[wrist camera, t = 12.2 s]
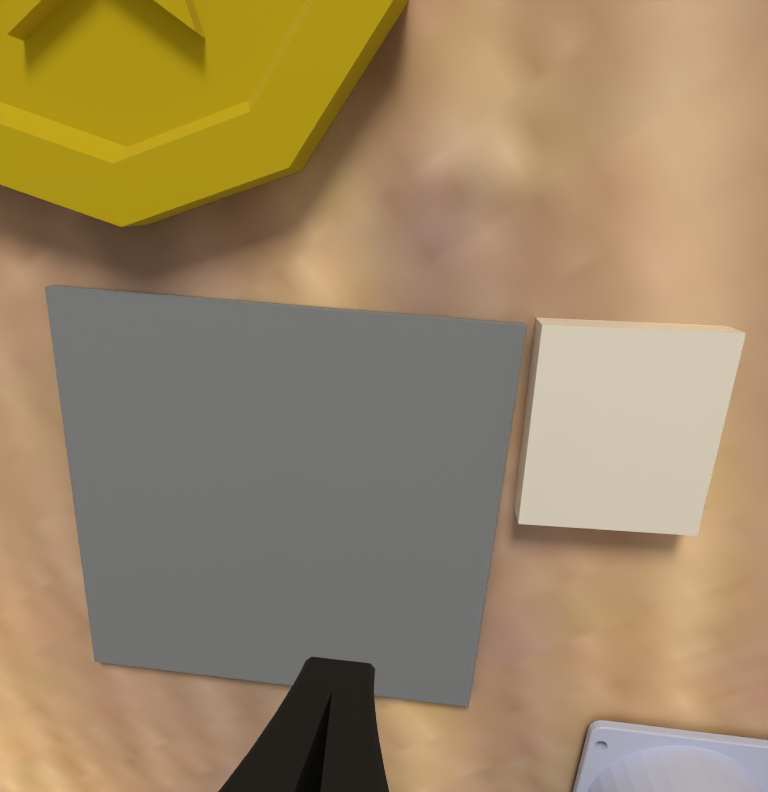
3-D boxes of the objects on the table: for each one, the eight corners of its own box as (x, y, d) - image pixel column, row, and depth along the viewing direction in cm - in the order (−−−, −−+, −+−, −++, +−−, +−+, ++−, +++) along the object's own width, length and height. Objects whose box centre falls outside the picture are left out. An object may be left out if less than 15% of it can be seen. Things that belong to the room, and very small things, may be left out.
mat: (468, 699, 24) (468, 707, 23) (100, 654, 25) (94, 661, 24) (524, 323, 18) (526, 326, 18) (52, 285, 19) (45, 286, 19)
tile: (512, 500, 21) (677, 511, 21) (518, 524, 20) (697, 535, 19) (533, 314, 19) (720, 322, 18) (542, 324, 17) (745, 333, 17)
